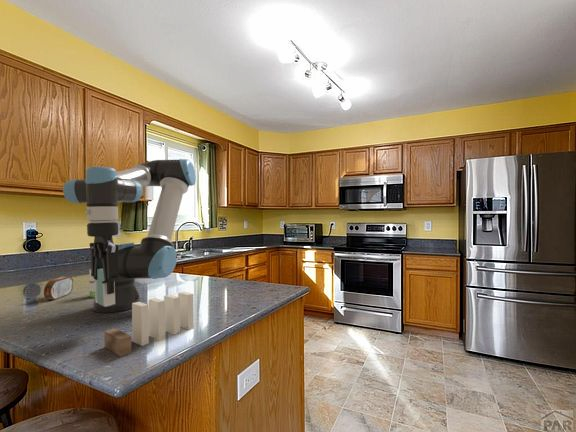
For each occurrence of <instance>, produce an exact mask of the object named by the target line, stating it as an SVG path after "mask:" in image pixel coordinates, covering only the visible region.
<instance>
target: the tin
mask: <svg viewBox="0 0 576 432" xmlns="http://www.w3.org/2000/svg"><path fill="white" fill-rule="evenodd" d="M73 286H74V279H73V278H72V277H71V276H65V275H64V276H63V275H62V276H59V277H56V278H52V279H51V278H50V279H49V280H48V281H47V282H46V284H45V286H44V289H43V295H44V298H45V299H46V300H47V301H50V300H51V301H53V300H54V301H55V299H56V300H58V299H61V298H63V296H64V297H66V295H67V296H68V294H69V295H70V294H71V292H72V291H73ZM60 297H61V298H60Z"/></svg>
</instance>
